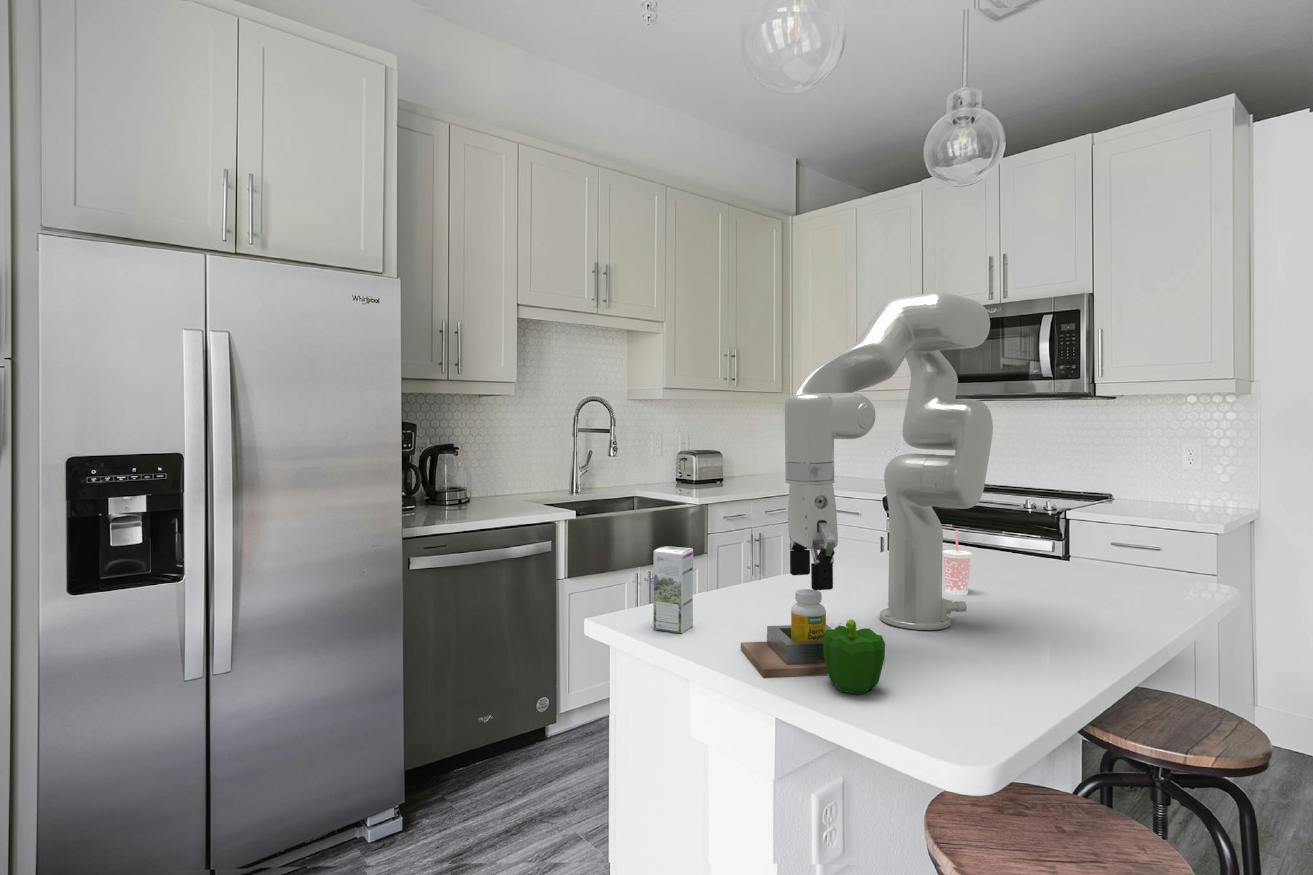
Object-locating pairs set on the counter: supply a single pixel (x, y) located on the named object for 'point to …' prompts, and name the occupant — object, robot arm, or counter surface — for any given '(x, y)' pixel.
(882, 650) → the bell pepper
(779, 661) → the docking plate
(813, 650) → the socket collar
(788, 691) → the counter surface
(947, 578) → the beverage cup
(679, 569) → the syrup box
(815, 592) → the supplement bottle
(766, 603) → the counter surface
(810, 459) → the robot arm
